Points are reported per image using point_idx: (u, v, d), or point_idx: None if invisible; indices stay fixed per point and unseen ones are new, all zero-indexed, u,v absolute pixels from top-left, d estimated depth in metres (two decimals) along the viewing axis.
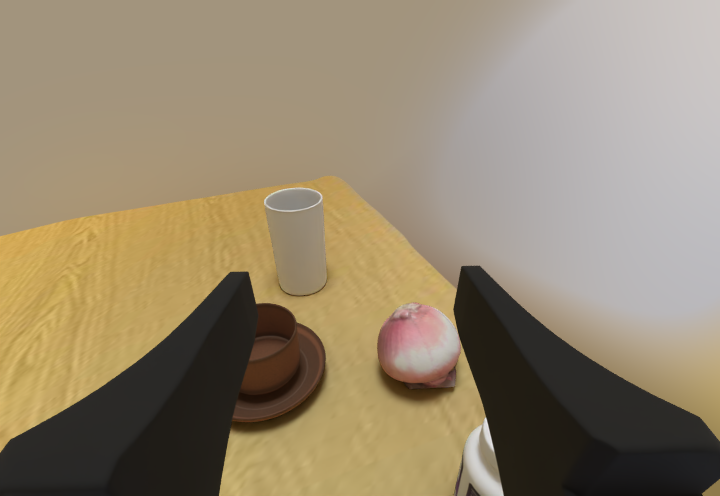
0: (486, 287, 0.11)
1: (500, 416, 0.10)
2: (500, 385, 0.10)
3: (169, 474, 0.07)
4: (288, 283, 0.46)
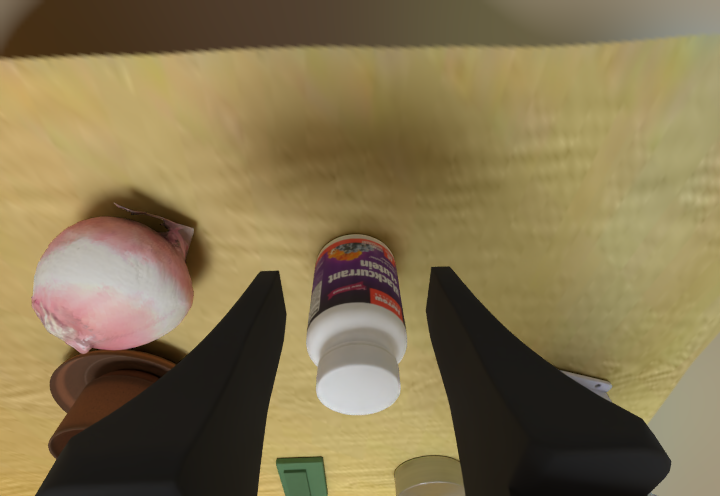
0: (452, 288, 0.11)
1: (462, 417, 0.10)
2: (462, 385, 0.10)
3: (221, 472, 0.07)
4: None
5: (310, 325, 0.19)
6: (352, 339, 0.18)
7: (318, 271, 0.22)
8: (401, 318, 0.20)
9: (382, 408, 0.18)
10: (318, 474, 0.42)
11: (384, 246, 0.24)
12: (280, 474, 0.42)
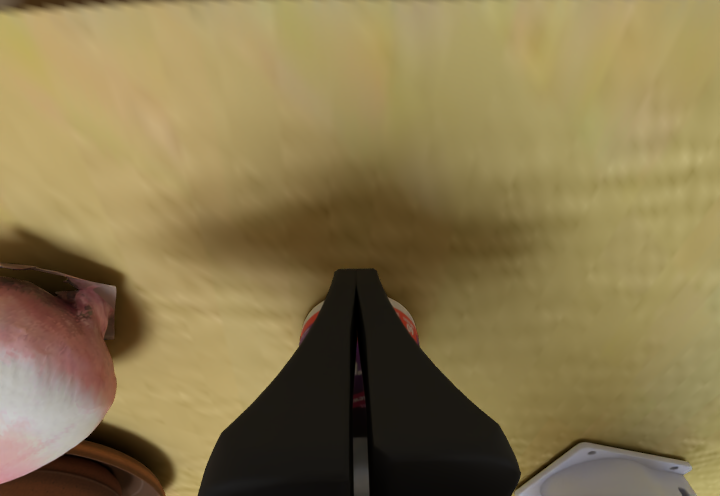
0: (367, 290, 0.11)
1: (367, 420, 0.10)
2: (366, 388, 0.10)
3: None
4: None
5: None
6: None
7: None
8: None
9: None
10: None
11: (401, 310, 0.16)
12: None
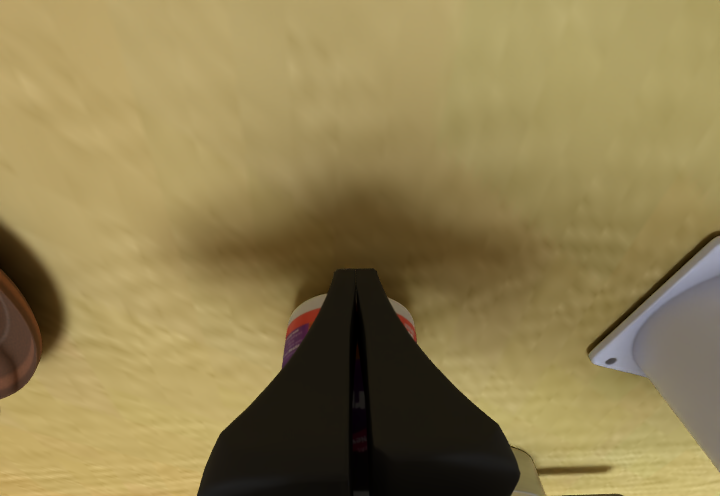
0: (367, 290, 0.11)
1: (367, 420, 0.10)
2: (366, 388, 0.10)
3: (350, 468, 0.07)
4: None
5: None
6: None
7: None
8: None
9: None
10: None
11: (403, 314, 0.14)
12: None
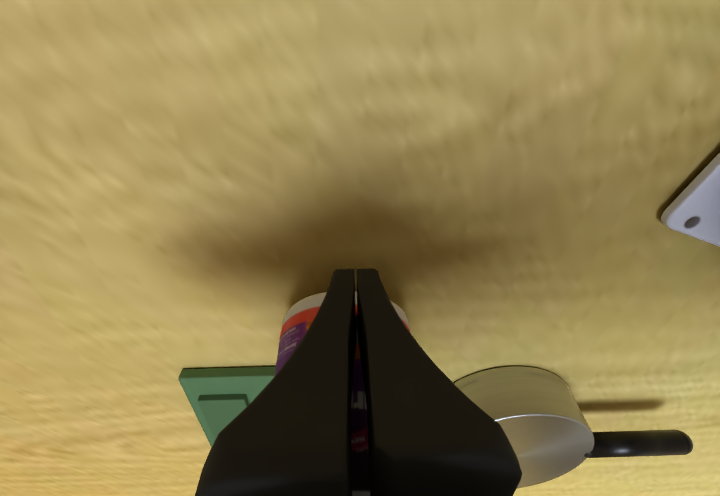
0: (368, 290, 0.11)
1: (368, 420, 0.10)
2: (367, 388, 0.10)
3: (349, 468, 0.07)
4: None
5: None
6: None
7: (287, 359, 0.13)
8: None
9: None
10: None
11: (400, 315, 0.15)
12: (194, 406, 0.20)
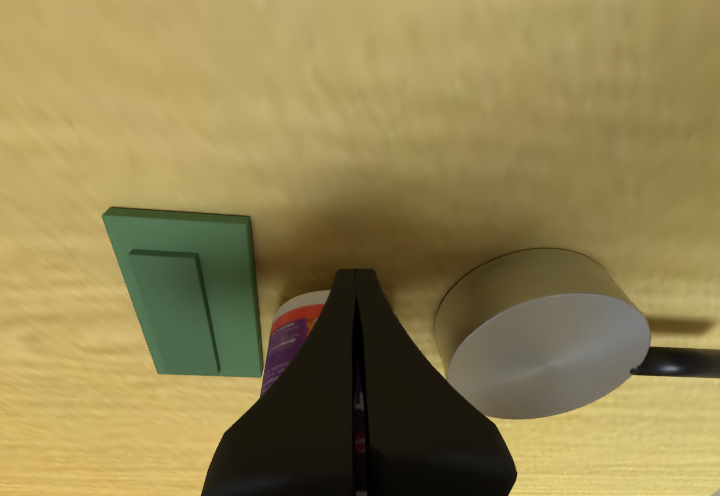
0: (365, 290, 0.11)
1: None
2: (364, 388, 0.10)
3: None
4: None
5: None
6: None
7: (285, 354, 0.13)
8: None
9: None
10: (237, 280, 0.15)
11: None
12: (124, 270, 0.14)
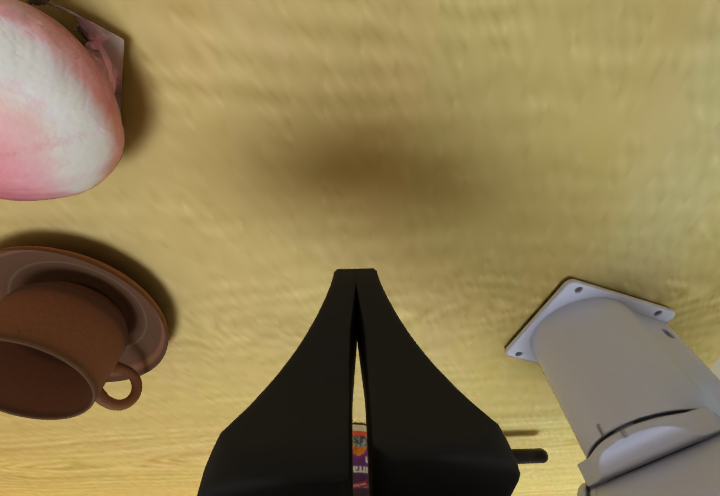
0: (366, 290, 0.11)
1: None
2: (366, 388, 0.10)
3: (350, 468, 0.07)
4: None
5: None
6: None
7: None
8: None
9: None
10: None
11: None
12: None
